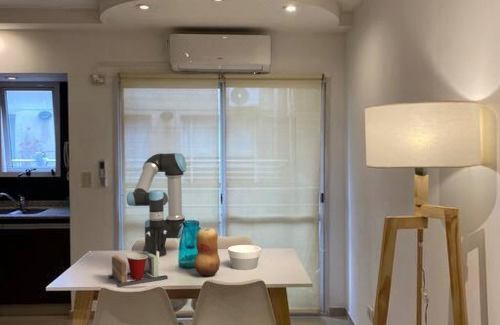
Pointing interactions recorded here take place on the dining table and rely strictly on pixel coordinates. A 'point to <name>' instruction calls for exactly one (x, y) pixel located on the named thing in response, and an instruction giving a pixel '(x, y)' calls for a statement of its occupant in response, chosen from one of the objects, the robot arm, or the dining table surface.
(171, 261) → the dining table surface
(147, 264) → the block
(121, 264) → the vise bed
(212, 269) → the butternut squash
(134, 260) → the plastic cup
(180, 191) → the robot arm
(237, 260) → the bowl
